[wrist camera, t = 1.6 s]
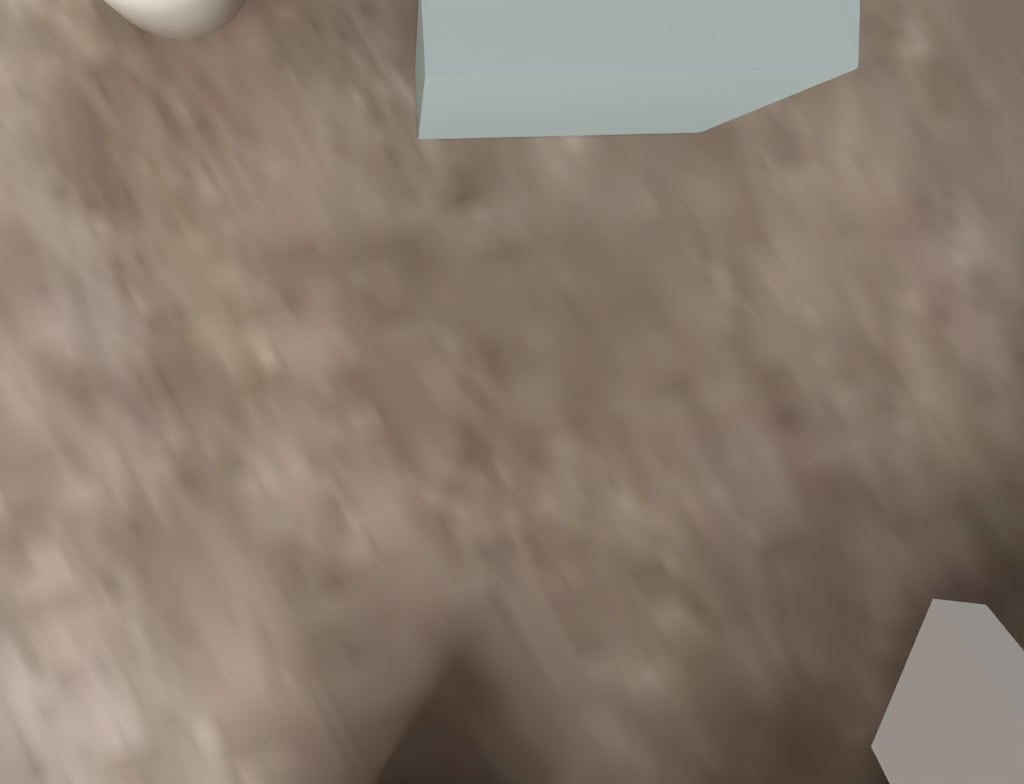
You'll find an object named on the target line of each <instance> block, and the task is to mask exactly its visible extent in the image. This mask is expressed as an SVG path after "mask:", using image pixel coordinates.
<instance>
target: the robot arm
mask: <svg viewBox="0 0 1024 784" xmlns="http://www.w3.org/2000/svg"><path fill="white" fill-rule="evenodd" d="M871 748H872V750H873V752H874V754H875V756H876V757H877V759H878V761H879V763H880V765H881V767H882V769H883V771H884V773H885V775H886V777H887V779H888V781H889V783H890V784H1024V650H1023V649H1022V648H1021V647H1020V646H1019V644H1018V643H1017V642H1016V641H1015V640H1014V638H1013V637H1012V636H1011V635H1010V633H1009V632H1008V631H1007V630H1006V629H1005V627H1004V626H1003V625H1002V624H1001V622H1000V621H999V620H998V619H997V618H996V616H995V615H994V614H993V613H992V611H991V610H990V609H989V608H988V607H987V605H984V604H975V603H967V602H958V601H949V600H941V599H933V600H932V602H931V605H930V607H929V609H928V612H927V614H926V617H925V619H924V621H923V624H922V626H921V628H920V631H919V633H918V636H917V638H916V640H915V643H914V645H913V648H912V650H911V652H910V655H909V657H908V660H907V662H906V664H905V667H904V669H903V672H902V674H901V676H900V679H899V681H898V684H897V686H896V688H895V691H894V693H893V695H892V698H891V700H890V703H889V705H888V707H887V710H886V712H885V715H884V717H883V719H882V722H881V724H880V727H879V729H878V731H877V734H876V736H875V739H874V741H873V743H872V746H871Z"/></svg>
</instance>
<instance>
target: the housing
mask: <svg viewBox="0 0 1024 784" xmlns="http://www.w3.org/2000/svg"><path fill="white" fill-rule="evenodd" d="M859 19H860V0H419V1H418V21H417V40H416V60H415V90H416V108H417V126H418V139H455V138H497V137H538V136H579V135H620V134H661V133H700V132H703V131H705V130H707V129H710V128H712V127H715V126H717V125H720V124H722V123H725V122H727V121H729V120H732V119H734V118H737V117H739V116H742V115H744V114H747V113H749V112H752V111H754V110H756V109H759V108H761V107H764V106H766V105H769V104H771V103H774V102H776V101H778V100H781V99H783V98H786V97H788V96H791V95H793V94H796V93H798V92H801V91H803V90H805V89H808V88H810V87H813V86H815V85H818V84H820V83H823V82H825V81H827V80H830V79H832V78H835V77H837V76H840V75H842V74H845V73H847V72H850V71H852V70H854V69H857V68H858V55H859Z"/></svg>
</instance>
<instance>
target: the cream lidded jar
mask: <svg viewBox="0 0 1024 784" xmlns="http://www.w3.org/2000/svg"><path fill="white" fill-rule="evenodd" d="M104 1H105V2H106V3H108V4H109V5H110V6H111V7H112V8H114V9H115V10H116V11H117V12H118V13H120V14H121V15H122V16H123V17H124V18H126V19H127V20H128V21H129V22H131V23H132V24H134V25H135V26H137V27H138V28H140V29H142V30H144V31H146V32H148V33H150V34H153V35H156V36H159V37H163V38H169V39H180V40H183V39H193V38H198V37H202V36H205V35H208V34H211V33H213V32H215V31H216V30H218V29H220V28H222V27H223V26H224V25H226V24H227V23H228V22H229V21H230V20H231V19H232V18H233V17H234V16H235V15H236V14H237V13H238V11H239V10H240V9H241V8H242V6H243V4H244V2H245V0H104Z"/></svg>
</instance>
